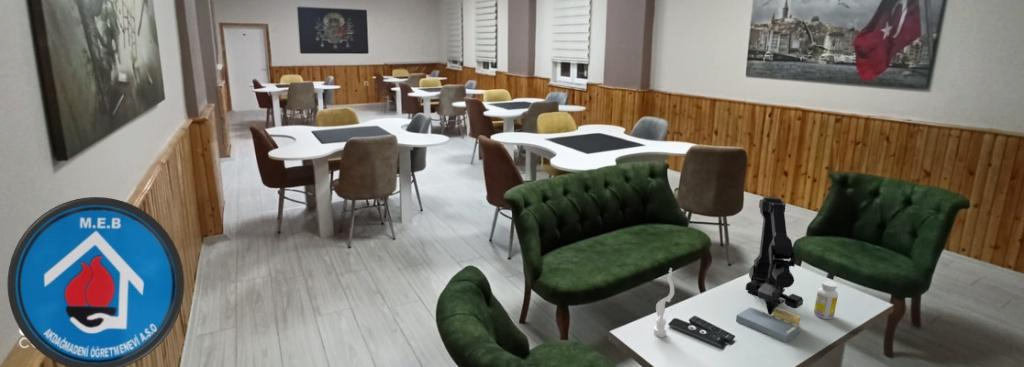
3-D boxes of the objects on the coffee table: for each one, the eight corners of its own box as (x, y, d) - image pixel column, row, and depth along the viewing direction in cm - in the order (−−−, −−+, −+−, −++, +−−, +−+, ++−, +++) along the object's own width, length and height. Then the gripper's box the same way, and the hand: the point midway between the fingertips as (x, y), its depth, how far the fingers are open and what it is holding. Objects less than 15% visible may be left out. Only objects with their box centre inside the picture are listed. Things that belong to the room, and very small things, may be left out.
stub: (771, 321, 203) (773, 311, 202) (776, 318, 205) (778, 308, 204) (793, 330, 197) (795, 320, 196) (798, 326, 199) (800, 316, 198)
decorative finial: (650, 332, 192) (657, 265, 186) (657, 328, 195) (665, 262, 188) (664, 339, 188) (672, 271, 181) (671, 336, 190) (680, 268, 184)
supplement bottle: (831, 313, 210) (838, 281, 207) (835, 321, 204) (841, 289, 201) (811, 309, 213) (817, 278, 209) (814, 317, 206) (821, 286, 203)
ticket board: (735, 320, 202) (736, 314, 201) (749, 312, 208) (750, 306, 208) (785, 342, 189) (786, 335, 188) (798, 333, 195) (799, 326, 195)
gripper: (741, 272, 203) (734, 311, 207) (793, 291, 189) (785, 332, 193) (756, 264, 210) (750, 302, 214) (807, 282, 196) (799, 322, 200)
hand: (770, 314), depth 205 cm, fingers closed
